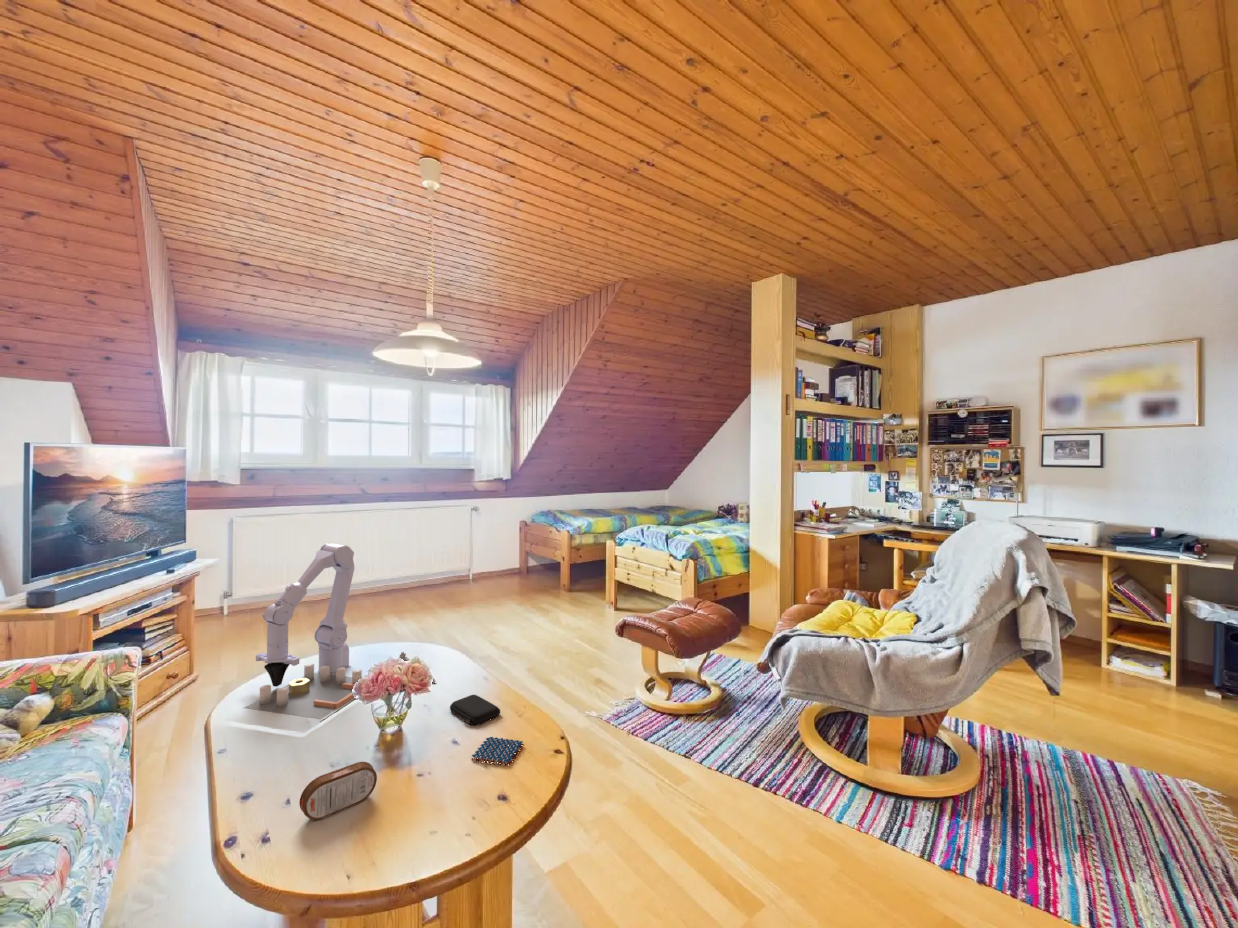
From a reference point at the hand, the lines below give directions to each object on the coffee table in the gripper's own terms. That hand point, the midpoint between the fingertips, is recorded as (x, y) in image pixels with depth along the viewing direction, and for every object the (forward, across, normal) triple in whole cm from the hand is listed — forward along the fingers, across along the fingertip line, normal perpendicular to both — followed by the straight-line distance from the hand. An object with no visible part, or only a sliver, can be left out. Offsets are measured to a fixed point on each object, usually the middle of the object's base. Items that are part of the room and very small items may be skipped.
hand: (277, 685), depth 170 cm
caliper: (+2, +35, +22) cm, 42 cm away
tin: (+2, +58, -43) cm, 72 cm away
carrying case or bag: (+3, +66, +2) cm, 66 cm away
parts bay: (+1, +23, 0) cm, 23 cm away
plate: (+2, +14, 0) cm, 14 cm away
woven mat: (+3, +82, -15) cm, 84 cm away
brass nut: (+1, +8, 0) cm, 8 cm away
